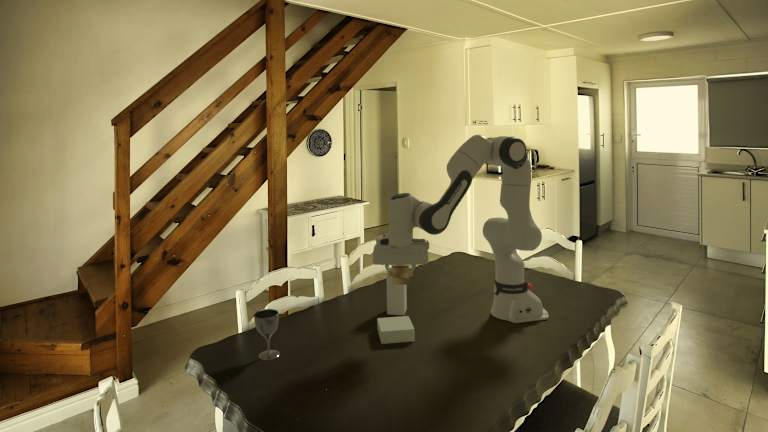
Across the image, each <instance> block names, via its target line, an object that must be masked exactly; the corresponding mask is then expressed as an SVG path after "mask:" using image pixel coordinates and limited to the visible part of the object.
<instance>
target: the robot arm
mask: <svg viewBox="0 0 768 432" xmlns="http://www.w3.org/2000/svg"><path fill="white" fill-rule="evenodd" d="M527 150H528V149H527V146H526V144H525V142H524V140H523V139H522V138H519V137H516V136H505V135H503V136H502V135H501V136H496V137H486V136H484V135H481V134H474V135H471V137H469V138H468V139H467V140H465V141H464V143H462V144H461V146H460V147H459V148H458V149H456V151H455V152H454V154H453V155H452V156H451V157H450V159H449V161H448V162H447V164H446V173H447V175H448V178H449V179H450V182H449V185H448V187H447V188H446V190H445V191H444V193H443V194H442V196H441V197H440V198H439V200H438V201H437V202H435V203H433V204H432V203H430V202H426V201H424V200H421V199H418V198H417V197H415V196H413V195H412V194H411V193H410V192H409V193H408V192H402V193H397V194H394V195H393V196H392V197H391V198H390V200H389V205H388V222H389V226H388V232H387V233H385V234H380V235H377V236H376V239H375V244H374V245H373V246H374V247H373V250H372V264H374V265H375V266H376V265H378V266H380V265H382V266H383V265H384V268H385V270H386V271H387V273H388V276H392V271H390V270H389V268H390V265H391V266H392V265H408V266H410V265H411V268H410V269H409V277H414V276H413V274H414V273H413V272H414V271H415V269H416V268H417V265H427V264H428V263H429V252H428V251H429V249H430V242H429V240H428V239H426V238H414V228H418V229H421V230H423V231H424V232H426V233H427V234H430V235H431V236H433V235H435V236H436V235H439V234H441V233H443V232H444V231H445V230H447V228H448V226H449V224H450V220H451V219H452V215H453V214H454V212H455V210H456V209H457V207H458V206H459V205H460V203H461V201H462V200H463V198H464V197H465V195H466V194H467V192H468V190H469V189H470V187H471V186H472V183H473V180H474V178H475V176H476V175H477V174H478V172H480V170H481V169H482V168H483V166H484V165H485V164H486V165H488V166H494V167H500V168H501V171H502V176H501V177H502V178H501V186H500V196H499V204H500V206H501V207H502V208H503V209H504V210H505V213H506V214H507V217H506V218H505V217H491V218H488V219H487V220H486V221H485V222H484V223H483V227H482V235H483V238H484V239H485V240H486V241H487V243H488V244H489V246H490V248H491V250H492V254H493V256H494V261H495V262H494V265H495V279H494V280H493V294H494V295H493V302H492V305H491V310H490V314H491V315H492V316H493V317H495V318H496V319H499V320H502V321H503V320H504V321H508V322H511V323H513V324H519V323H520V324H521V323H528V322H536V321H544V320H548V319H549V312H548V311H547V310H546V309H545V308H544V307H543V303H542V301H541V299H540V298H539V296H537V295H536V294H534V293H533V292H532V291H531V290H532V289H533V285H532V284H531V283H529V282H528V281H527V280H525V262H524V260H523V258H522V257H521V256H520V255H519V254H518V252H517V250H518V251H521V252H522V251H524V252H525V251H526V252H527V251H528V252H529V251H530V252H531V251H535V250H536V249H537V248H538V247H539V246H540V245H541V242H542V240H543V239H542V238H543V235H542V231H541V229H540V227H539V226H538V225H537V224H536V222H535V221H534V219H533V216H532V213H531V208H530V205H531V204H530V199H531V198H530V197H531V186H532V164H531V161H530V160H529V159H528V151H527Z"/></svg>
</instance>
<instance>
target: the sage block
mask: <svg viewBox="0 0 768 432" xmlns="http://www.w3.org/2000/svg"><path fill="white" fill-rule="evenodd" d="M376 322H377V323H376V325H377V333H378V337H379V339H380V343H381V345H385V344H397V343H399V344H400V343H408V342H410V343H411V342H415V341H416V340H415V339H416V337H415V336H416V335H415V334H416V333H415V330H416V329H415V327H414V325H413V322H412V320H411V319H410V316H409V315H400V316H391V317H378V318H377V319H376Z"/></svg>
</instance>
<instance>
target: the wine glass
mask: <svg viewBox="0 0 768 432" xmlns="http://www.w3.org/2000/svg"><path fill="white" fill-rule="evenodd" d="M253 318H254V319H253V320H254V326H255V329H256V332H257V333H259V334H260V335H261V336H263V338H264V339H265V341H266V345H267V348H266V349H267V350H263V351H261V353H259V354H258V359H259V360H262V361H271V360H274V359H276V358H278V357H279V356H280V355H281V354H280V353H281V352H280V351H278V350H276V349H271V348H270V345H271V342H270V341H271V338H272V336H273V335H274V333H276V331H277V329H278V327H279V310H277V309H272V308H266V309H265V308H264V309H261V310H258V311H255V312H254V314H253Z"/></svg>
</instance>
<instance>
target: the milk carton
mask: <svg viewBox="0 0 768 432" xmlns="http://www.w3.org/2000/svg"><path fill="white" fill-rule="evenodd" d="M388 268H389V270H390V271H392V267H388ZM407 285H408V284H407ZM407 285H392V276H388V272H387V274H386V314H387V315H392V316H393V315H394V316H406V312H407V310H408V305H407V303H408V302H407V301H408V300H407V298H408V296H407V295H408V294H407V290H408V289H407V288H408V287H407Z"/></svg>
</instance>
